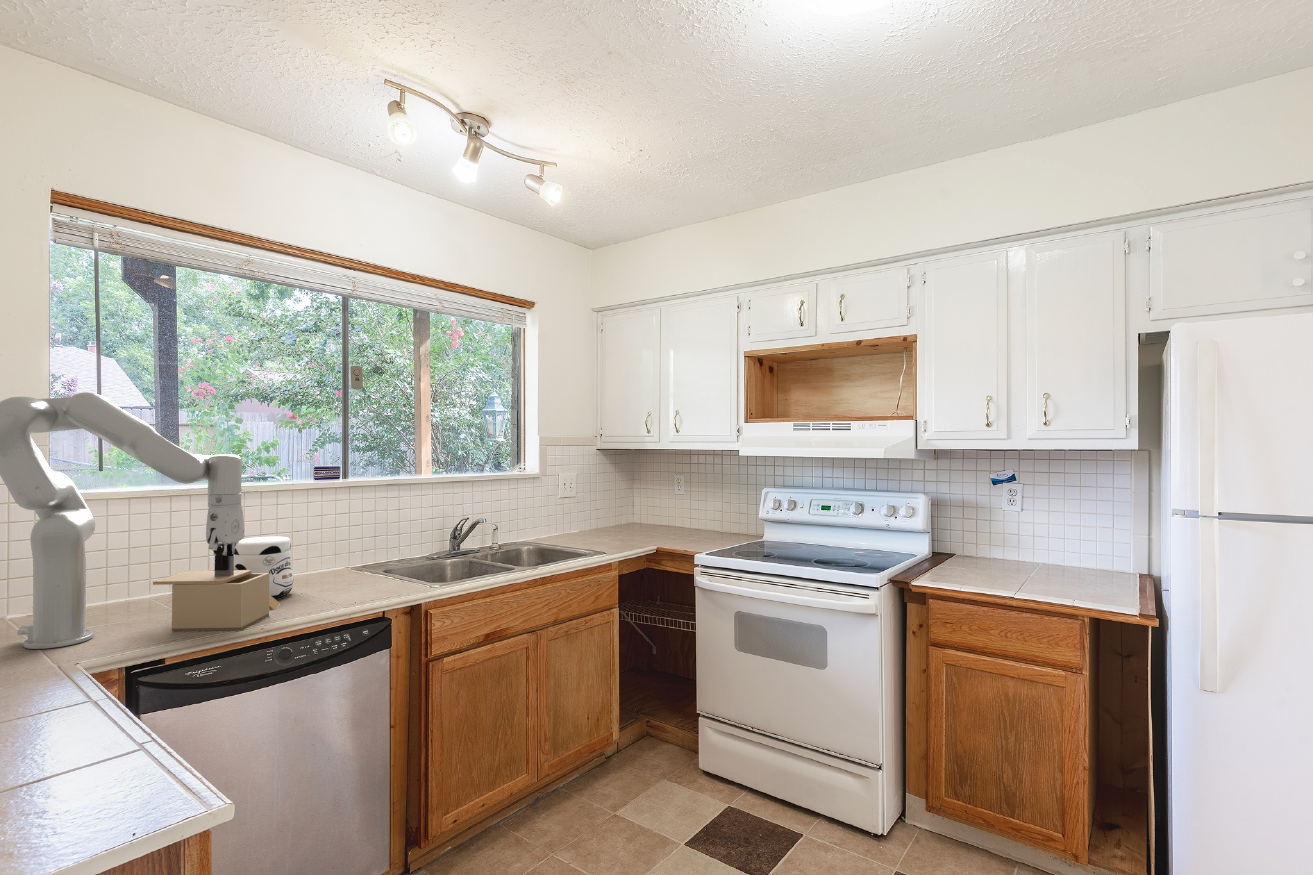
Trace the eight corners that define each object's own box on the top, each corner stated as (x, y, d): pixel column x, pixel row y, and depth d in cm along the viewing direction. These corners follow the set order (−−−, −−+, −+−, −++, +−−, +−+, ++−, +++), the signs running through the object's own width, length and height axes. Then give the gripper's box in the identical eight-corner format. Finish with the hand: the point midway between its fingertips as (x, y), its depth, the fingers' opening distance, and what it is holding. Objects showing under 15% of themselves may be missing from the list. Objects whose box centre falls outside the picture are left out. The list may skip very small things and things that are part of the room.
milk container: (296, 599, 202) (296, 541, 203) (229, 607, 193) (230, 546, 193) (290, 588, 217) (291, 534, 217) (228, 595, 207) (228, 538, 207)
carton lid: (152, 584, 167) (153, 561, 167) (187, 573, 181) (188, 552, 181) (222, 583, 169) (222, 561, 169) (251, 572, 183) (252, 552, 183)
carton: (171, 631, 168) (172, 584, 168) (205, 617, 182) (205, 573, 182) (241, 630, 169) (241, 583, 169) (269, 616, 183) (269, 573, 183)
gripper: (222, 503, 168) (221, 575, 168) (255, 498, 184) (254, 563, 183) (191, 503, 167) (190, 575, 167) (227, 498, 183) (226, 564, 183)
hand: (224, 568), depth 175 cm, fingers closed on carton lid
